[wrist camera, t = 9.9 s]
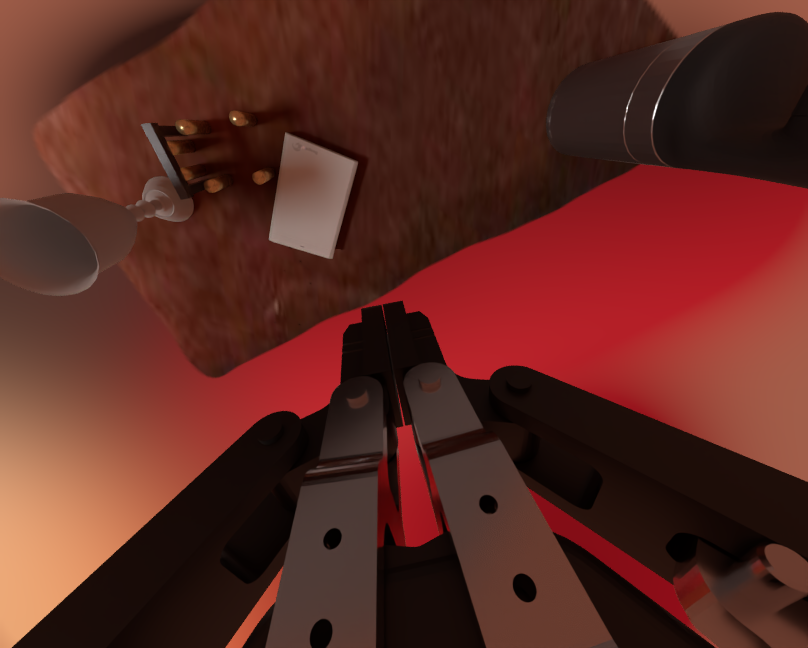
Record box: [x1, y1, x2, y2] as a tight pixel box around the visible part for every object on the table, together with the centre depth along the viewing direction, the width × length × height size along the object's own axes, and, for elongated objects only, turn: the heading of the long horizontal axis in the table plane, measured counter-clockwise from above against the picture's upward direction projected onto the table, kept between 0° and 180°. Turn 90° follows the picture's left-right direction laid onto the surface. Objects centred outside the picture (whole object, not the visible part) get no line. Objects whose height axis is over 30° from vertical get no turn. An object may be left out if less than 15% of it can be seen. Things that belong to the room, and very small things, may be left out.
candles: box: [141, 111, 275, 200], centre depth 31 cm, size 9×6×6 cm
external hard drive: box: [269, 132, 358, 259], centre depth 37 cm, size 2×8×12 cm
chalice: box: [0, 176, 194, 296], centre depth 28 cm, size 7×7×18 cm
